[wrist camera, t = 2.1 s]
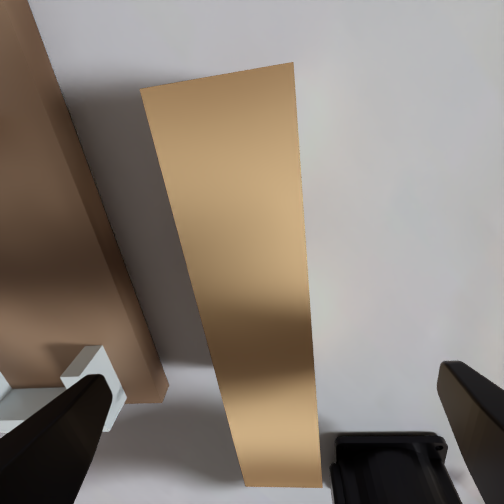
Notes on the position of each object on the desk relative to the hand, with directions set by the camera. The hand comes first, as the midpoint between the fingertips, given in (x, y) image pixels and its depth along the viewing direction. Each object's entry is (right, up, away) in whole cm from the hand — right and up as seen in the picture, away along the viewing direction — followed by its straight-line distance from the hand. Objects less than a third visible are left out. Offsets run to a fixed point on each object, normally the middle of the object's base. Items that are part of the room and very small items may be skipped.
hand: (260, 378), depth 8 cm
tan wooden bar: (+1, +3, +6) cm, 7 cm away
